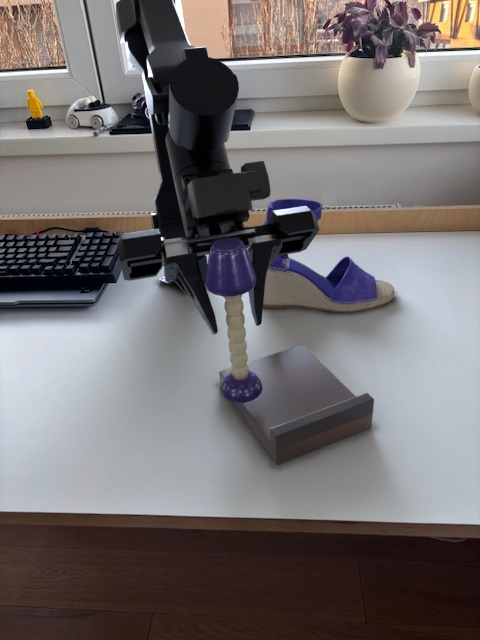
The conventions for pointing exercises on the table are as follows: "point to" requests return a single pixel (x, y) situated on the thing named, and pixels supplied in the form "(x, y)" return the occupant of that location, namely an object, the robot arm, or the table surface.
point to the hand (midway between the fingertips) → (237, 328)
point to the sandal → (320, 279)
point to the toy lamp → (234, 313)
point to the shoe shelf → (301, 405)
